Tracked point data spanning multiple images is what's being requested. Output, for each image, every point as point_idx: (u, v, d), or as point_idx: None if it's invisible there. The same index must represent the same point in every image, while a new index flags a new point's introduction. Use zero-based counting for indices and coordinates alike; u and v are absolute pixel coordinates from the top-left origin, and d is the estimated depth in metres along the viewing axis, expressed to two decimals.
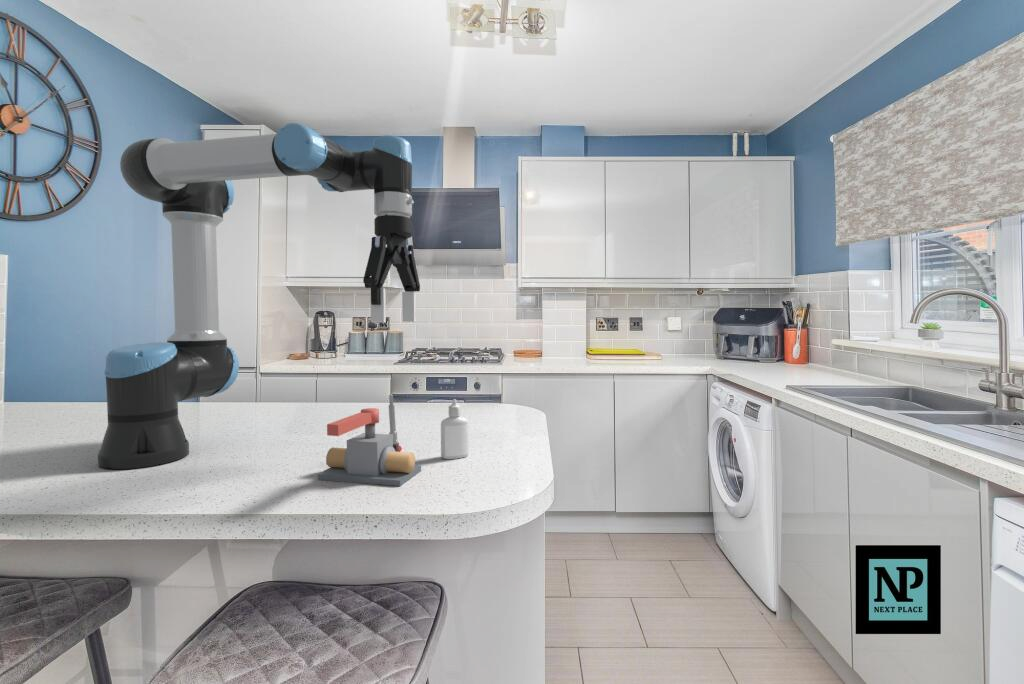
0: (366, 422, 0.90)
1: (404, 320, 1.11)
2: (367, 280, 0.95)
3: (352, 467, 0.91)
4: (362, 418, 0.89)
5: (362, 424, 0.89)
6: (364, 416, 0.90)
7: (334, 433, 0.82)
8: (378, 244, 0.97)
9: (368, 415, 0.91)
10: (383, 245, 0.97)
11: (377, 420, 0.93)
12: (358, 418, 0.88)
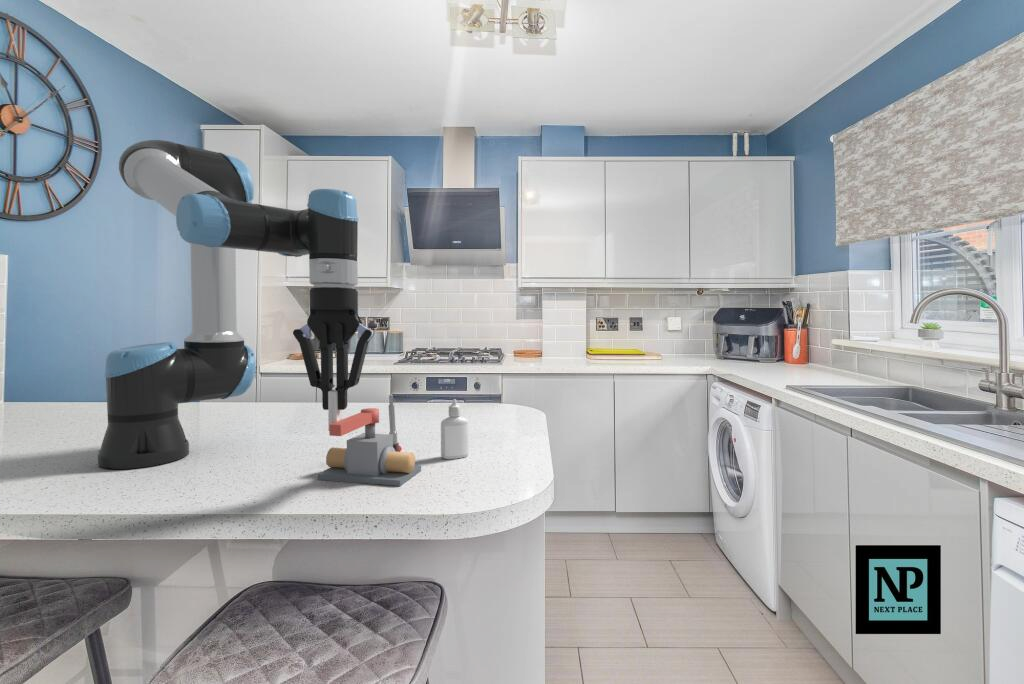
0: (367, 422, 0.90)
1: None
2: None
3: (352, 467, 0.91)
4: (363, 418, 0.89)
5: (363, 424, 0.89)
6: (365, 416, 0.90)
7: (336, 433, 0.82)
8: None
9: (369, 415, 0.91)
10: (299, 340, 0.83)
11: (377, 420, 0.93)
12: (359, 418, 0.88)
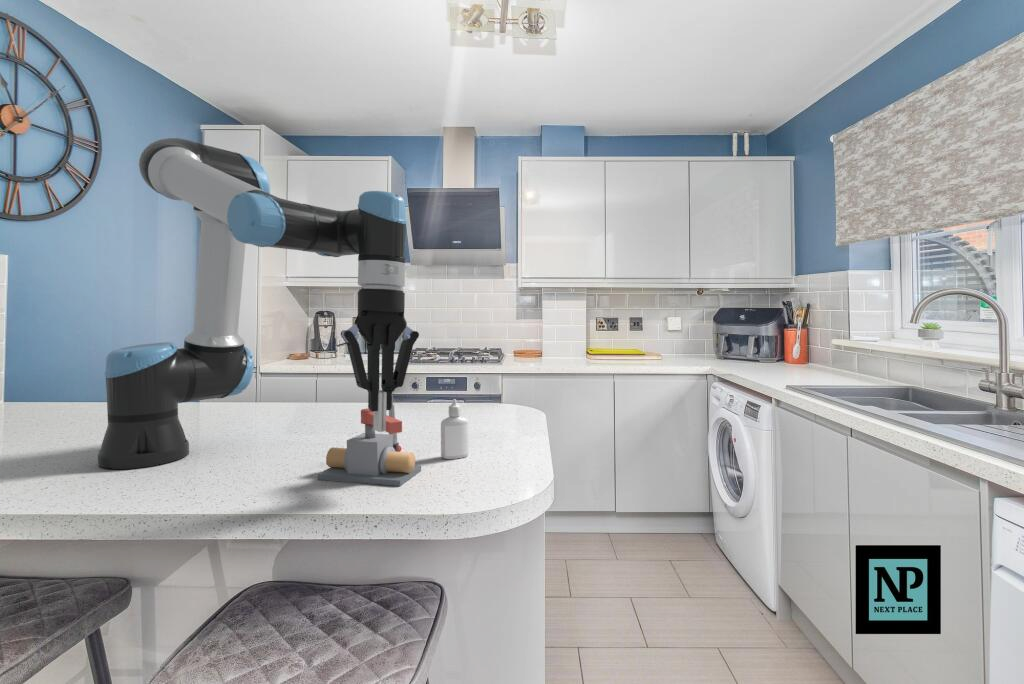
0: None
1: None
2: (358, 384, 0.83)
3: (352, 467, 0.91)
4: None
5: None
6: None
7: (397, 430, 0.84)
8: (347, 341, 0.82)
9: None
10: (351, 342, 0.81)
11: None
12: None
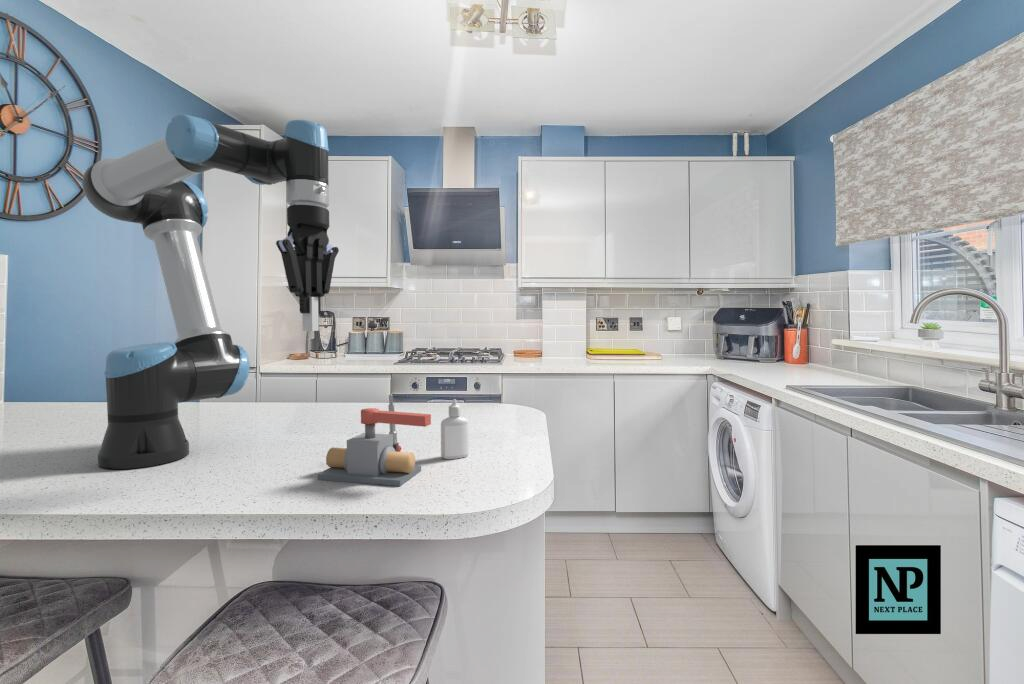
0: None
1: None
2: (292, 289, 0.95)
3: (352, 467, 0.91)
4: None
5: None
6: None
7: (428, 423, 0.90)
8: (284, 249, 0.93)
9: None
10: (289, 249, 0.93)
11: None
12: None
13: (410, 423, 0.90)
